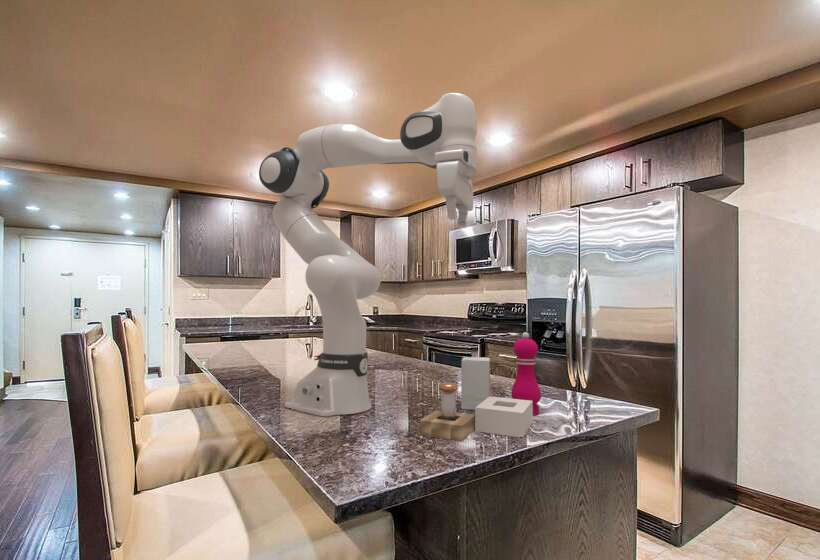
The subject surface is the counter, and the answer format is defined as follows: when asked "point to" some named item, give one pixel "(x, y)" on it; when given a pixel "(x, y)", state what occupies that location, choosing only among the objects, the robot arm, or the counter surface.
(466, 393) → the supplement box
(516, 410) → the dock
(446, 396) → the pin
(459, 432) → the mount
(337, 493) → the counter surface
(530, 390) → the pepper mill
